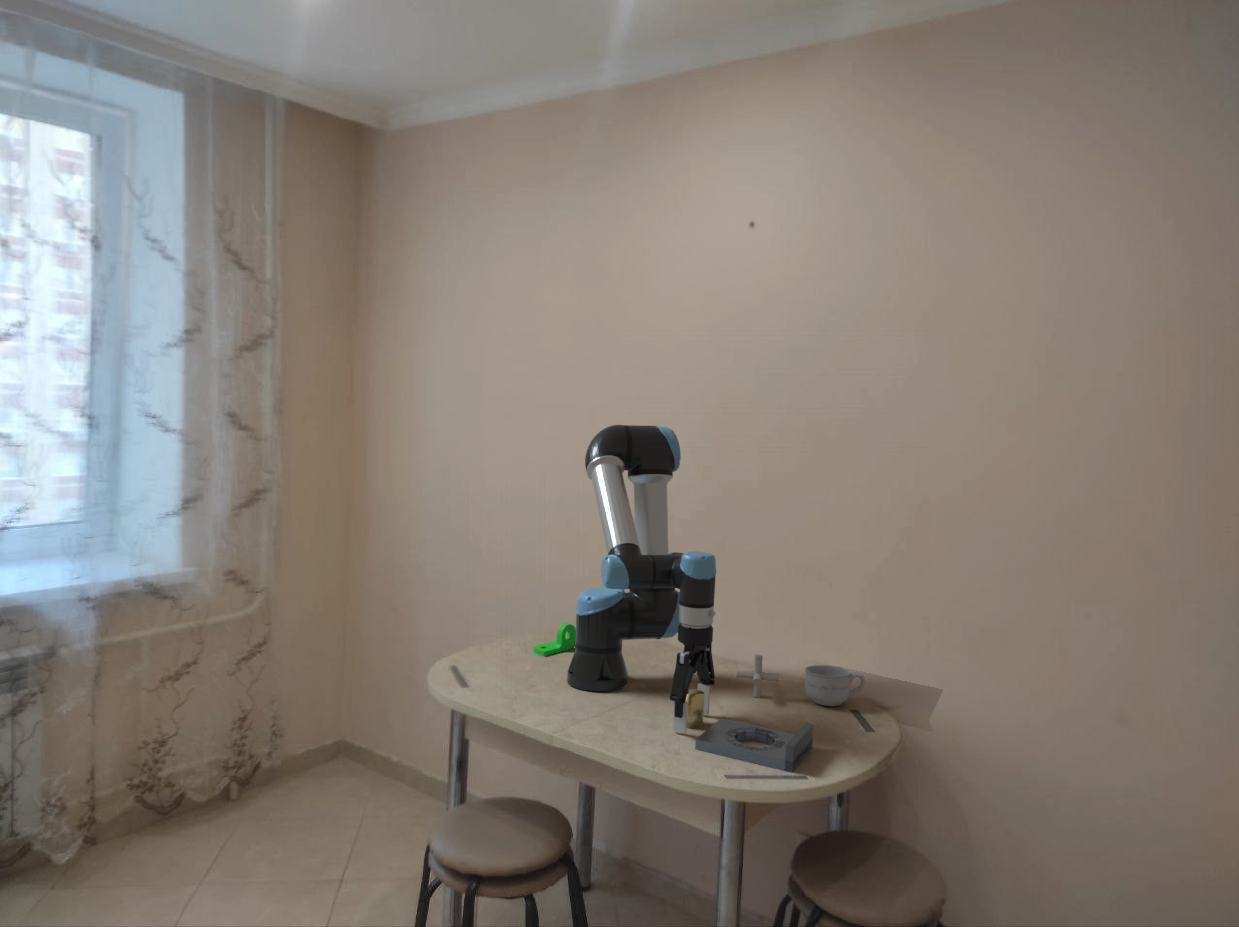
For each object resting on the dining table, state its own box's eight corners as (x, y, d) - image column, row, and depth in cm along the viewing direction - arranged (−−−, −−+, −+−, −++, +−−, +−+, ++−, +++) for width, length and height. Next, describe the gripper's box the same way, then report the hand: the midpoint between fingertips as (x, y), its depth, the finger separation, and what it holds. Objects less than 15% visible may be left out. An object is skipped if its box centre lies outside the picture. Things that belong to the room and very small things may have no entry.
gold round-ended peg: (676, 725, 180) (677, 693, 179) (685, 718, 184) (686, 687, 184) (697, 730, 177) (698, 698, 177) (706, 723, 182) (707, 691, 181)
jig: (695, 748, 167) (696, 724, 167) (720, 727, 180) (721, 704, 179) (792, 772, 158) (793, 746, 158) (812, 747, 170) (813, 723, 170)
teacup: (800, 705, 195) (802, 672, 195) (806, 692, 205) (808, 660, 205) (861, 715, 190) (863, 680, 190) (865, 700, 201) (866, 668, 200)
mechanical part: (560, 646, 238) (561, 618, 238) (575, 650, 234) (576, 622, 234) (529, 653, 229) (530, 625, 229) (543, 658, 225) (544, 629, 225)
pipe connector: (777, 705, 195) (779, 663, 194) (734, 700, 197) (736, 659, 196) (778, 691, 205) (780, 651, 204) (737, 687, 207) (739, 648, 206)
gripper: (689, 639, 167) (684, 744, 168) (731, 615, 188) (727, 709, 189) (655, 633, 170) (651, 736, 172) (701, 611, 192) (697, 702, 193)
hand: (691, 722), depth 181 cm, fingers open, 12 cm apart
